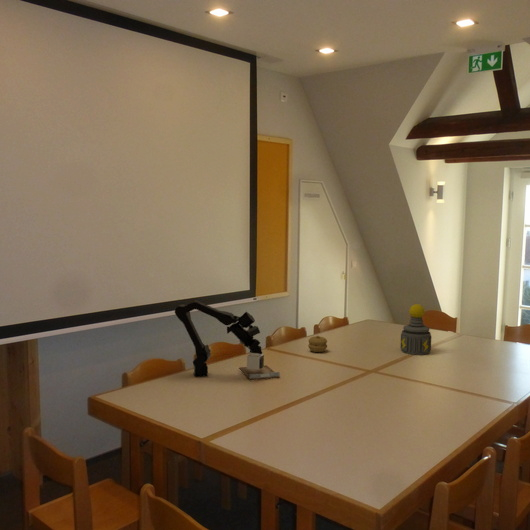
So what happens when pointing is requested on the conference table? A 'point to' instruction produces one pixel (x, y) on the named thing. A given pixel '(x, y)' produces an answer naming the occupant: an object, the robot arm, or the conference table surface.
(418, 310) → the decorative lamp
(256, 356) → the medicine bottle
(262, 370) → the shelf board
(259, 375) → the price rail
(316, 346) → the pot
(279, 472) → the conference table surface
